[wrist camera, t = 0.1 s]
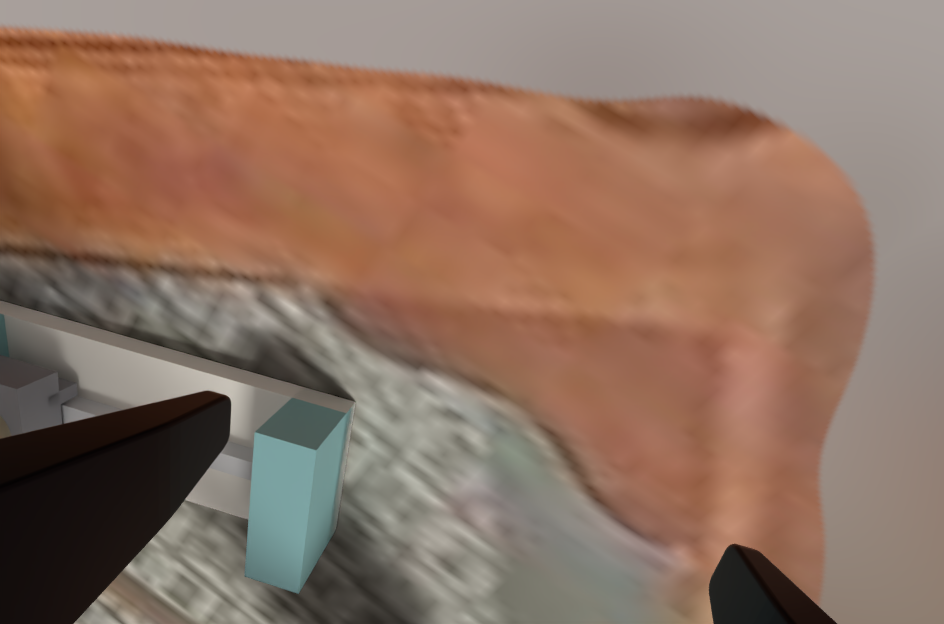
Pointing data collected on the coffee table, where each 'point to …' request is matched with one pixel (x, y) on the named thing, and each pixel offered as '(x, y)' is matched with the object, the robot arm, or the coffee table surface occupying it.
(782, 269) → the coffee table surface
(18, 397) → the carriage
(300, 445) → the rail track
